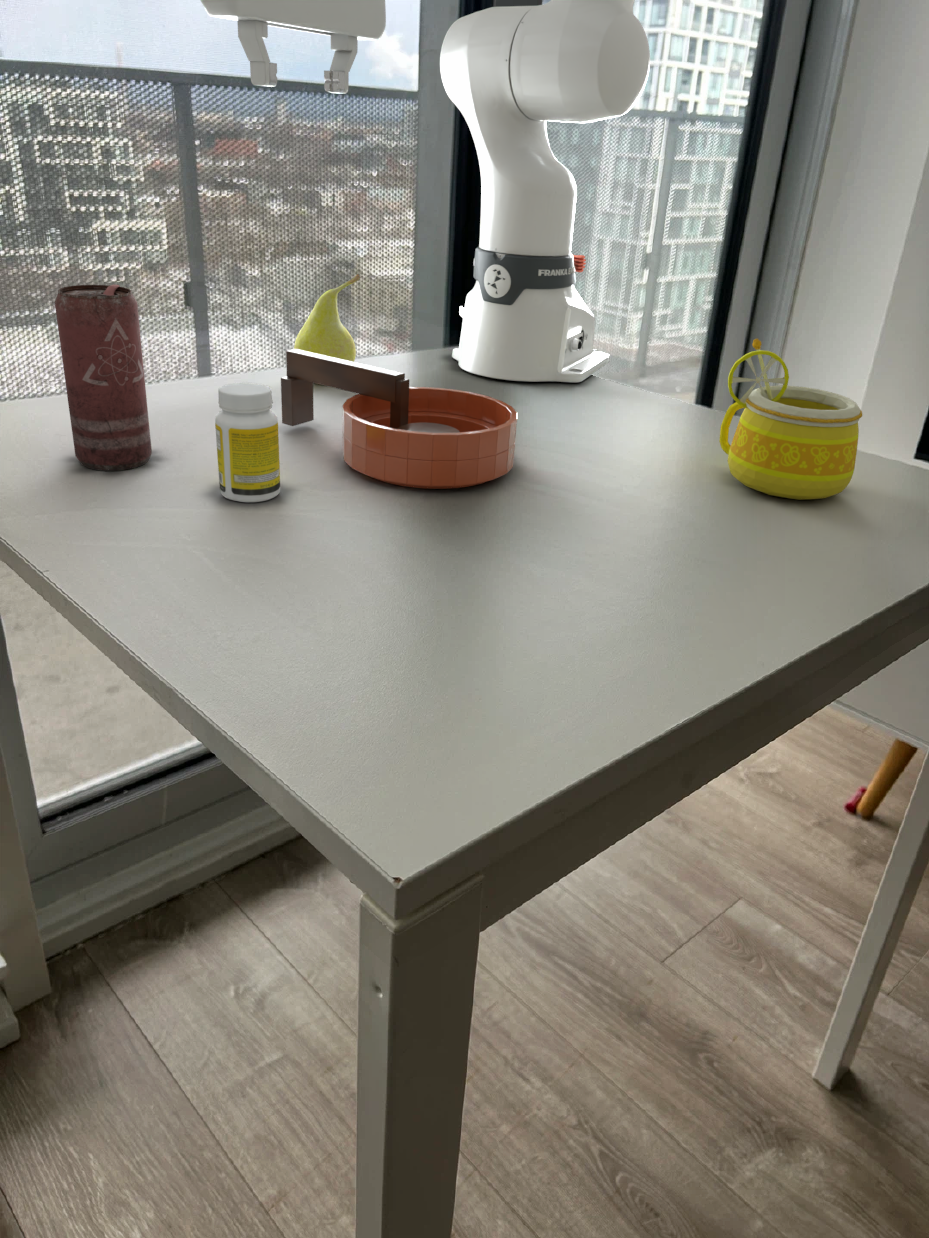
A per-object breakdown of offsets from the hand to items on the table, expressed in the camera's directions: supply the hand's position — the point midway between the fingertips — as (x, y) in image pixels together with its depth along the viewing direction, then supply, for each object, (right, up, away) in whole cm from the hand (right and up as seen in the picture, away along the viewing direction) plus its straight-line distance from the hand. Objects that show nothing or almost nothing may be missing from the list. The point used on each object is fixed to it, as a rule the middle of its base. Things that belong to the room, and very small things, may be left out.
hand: (301, 90), depth 85 cm
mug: (+43, -36, +1) cm, 56 cm away
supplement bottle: (-2, -38, -10) cm, 39 cm away
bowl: (+11, -34, 0) cm, 36 cm away
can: (-15, -34, -4) cm, 38 cm away
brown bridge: (+6, -31, +2) cm, 32 cm away
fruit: (-1, -20, +24) cm, 31 cm away
